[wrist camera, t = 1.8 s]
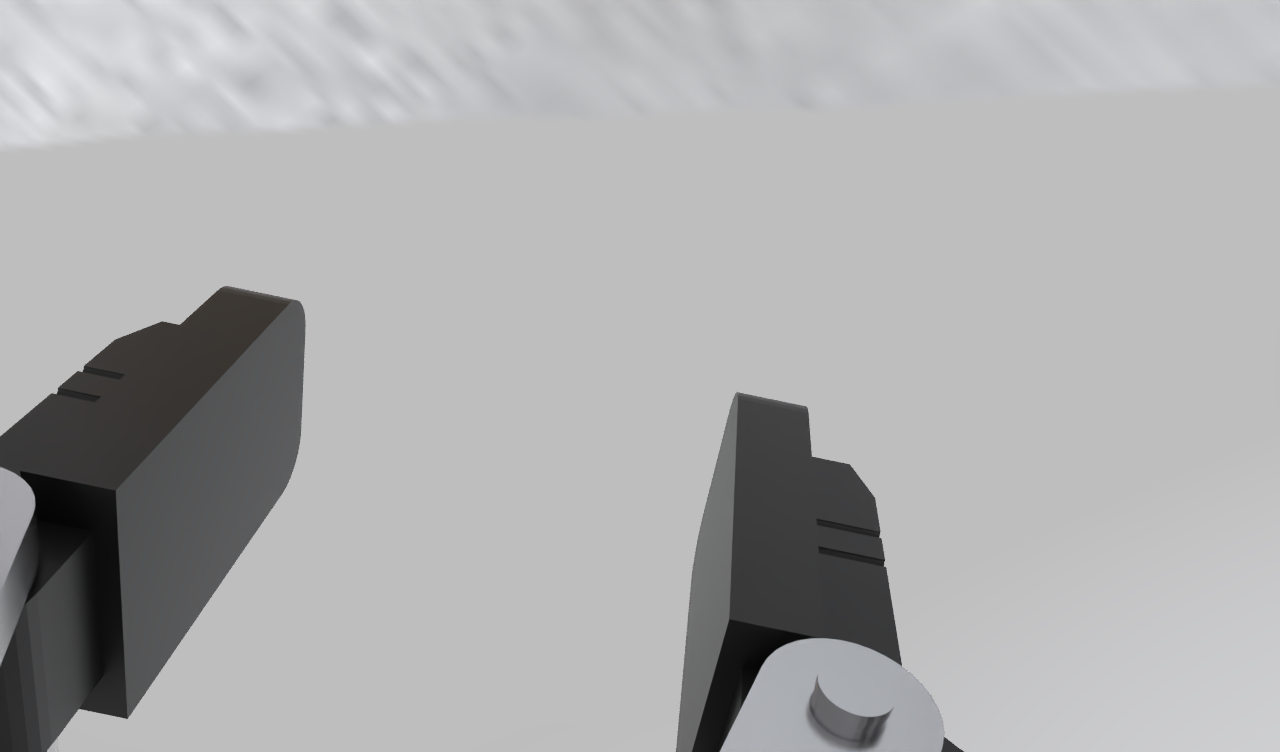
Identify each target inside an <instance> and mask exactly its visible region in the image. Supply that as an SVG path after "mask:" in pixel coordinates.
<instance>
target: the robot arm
mask: <svg viewBox="0 0 1280 752" xmlns="http://www.w3.org/2000/svg"><path fill="white" fill-rule="evenodd" d="M304 346H305V314H304V309H303V306H302V304H301V303H300V302H299V301H297V300H292V299H287V298H283V297H278V296H273V295H268V294H263V293H258V292H254V291H249V290H244V289H239V288H234V287H229V286H225V287H222V288H220V289H219V290H218V291H217V292H216V293H215V294H214V295H212V296H211V297H210V298H209V299H208V300H207V301H206V302H205V303H204V304H203V305H201V306H200V307H199V308H198V309H197V310H196V311H195V312H194V313H193V314H192V315H190V316H189V317H188V318H187V319H186V320H185V321H184V322H183V323H182V324H180V325H177V324H172V323H167V322H160V323H157V324H155V325H152V326H149V327H147V328H144V329H142V330H140V331H136V332H134V333H132V334H129V335H126V336H124V337H121V338H118V339H116V340H114V341H113V342H112V343H111V344H110V345H108V346H107V347H106V348H105V349H104V350H102V351H101V352H100V353H99V354H98V355H96V356H95V357H94V358H93V359H92V360H91V361H89V362H88V363H87V364H86V365H85V366H84V370H83V372H79V371H78V372H76V373H75V374H74V375H73V376H72V377H70V378H69V379H68V380H67V381H66V382H64V383H63V384H62V385H61V386H60V387H59V388H58V392H57V394H50V395H49V396H48V397H47V398H46V399H44V400H43V401H42V402H41V403H40V404H38V405H37V406H36V407H35V408H34V409H33V410H31V411H30V412H29V413H28V414H26V415H25V416H24V417H23V418H22V419H21V420H19V421H18V422H17V423H16V424H15V425H13V426H12V427H11V428H10V429H9V430H7V431H6V432H5V433H4V434H3V435H2V436H0V752H58V740H57V737H58V736H59V735H60V733H61V732H62V731H63V729H64V728H65V727H66V725H67V724H68V722H69V721H70V720H71V718H72V717H73V716H74V714H75V713H76V712H77V710H78V709H83V710H87V711H92V712H97V713H102V714H107V715H112V716H117V717H122V718H126V719H128V717H129V716H130V715H131V713H132V712H133V710H134V709H135V707H136V706H137V704H138V703H139V701H140V700H141V699H142V697H143V696H144V694H145V693H146V691H147V690H148V688H149V687H150V685H151V684H152V682H153V681H154V680H155V678H156V677H157V675H158V674H159V672H160V671H161V669H162V668H163V666H164V665H165V663H166V662H167V661H168V659H169V658H170V656H171V654H172V653H173V652H174V650H175V649H176V647H177V646H178V645H179V643H180V642H181V640H182V639H183V637H184V636H185V634H186V633H187V632H188V630H189V629H190V627H191V626H192V624H193V623H194V621H195V620H196V618H197V617H198V615H199V614H200V613H201V611H202V610H203V608H204V607H205V605H206V604H207V602H208V601H209V599H210V598H211V597H212V595H213V593H214V592H215V591H216V589H217V588H218V586H219V585H220V583H221V582H222V580H223V579H224V578H225V576H226V574H227V573H228V572H229V570H230V569H231V567H232V566H233V565H234V563H235V562H236V560H237V559H238V557H239V556H240V554H241V553H242V551H243V550H244V548H245V547H246V546H247V544H248V543H249V541H250V540H251V538H252V537H253V535H254V534H255V532H256V531H257V530H258V528H259V527H260V525H261V524H262V522H263V521H264V519H265V518H266V516H267V515H268V513H269V512H270V510H271V509H272V508H273V506H274V505H275V503H276V502H277V500H278V499H279V497H280V496H281V495H282V493H283V491H284V490H285V488H286V486H287V484H288V482H289V479H290V477H291V474H292V471H293V469H294V465H295V462H296V458H297V454H298V449H299V444H300V436H301V417H302V393H303V370H304V348H305V347H304ZM879 535H880V527H879V520H878V514H877V508H876V502H875V497H874V496H873V495H872V493H871V492H870V491H869V489H868V488H867V487H866V485H865V484H864V483H863V481H862V480H861V479H860V478H859V476H858V475H857V474H856V472H855V471H854V470H853V468H852V467H851V466H850V465H849V464H845V463H839V462H835V461H830V460H825V459H820V458H816V457H812V455H811V441H810V428H809V414H808V409H807V407H806V406H800V405H796V404H791V403H786V402H782V401H777V400H772V399H766V398H762V397H757V396H752V395H747V394H743V393H738V392H737V393H736V394H735V397H734V399H733V402H732V405H731V409H730V412H729V416H728V420H727V423H726V427H725V431H724V435H723V439H722V443H721V447H720V451H719V455H718V459H717V463H716V467H715V471H714V475H713V479H712V483H711V487H710V490H709V494H708V499H707V502H706V506H705V510H704V514H703V519H702V522H701V527H700V532H699V536H698V541H697V547H696V552H695V558H694V564H693V571H692V581H691V592H690V602H689V614H688V626H687V636H686V647H685V658H684V669H683V681H682V692H681V704H680V714H679V726H678V736H677V748H676V752H964V751H962V750H961V749H959V748H958V747H957V746H955V745H954V744H952V743H951V742H950V741H949V740H948V739H946V738H945V737H944V726H943V720H942V717H941V714H940V711H939V709H938V707H937V705H936V703H935V702H934V700H933V698H932V696H931V695H930V694H929V692H928V691H927V690H926V689H925V687H924V686H923V685H922V684H921V683H920V682H919V681H918V680H917V679H916V678H915V677H914V676H913V675H912V674H911V673H910V672H908V671H907V670H905V668H903V667H902V663H901V657H900V651H899V645H898V639H897V632H896V626H895V620H894V614H893V608H892V601H891V596H890V589H889V582H888V576H887V570H886V567H884V561H885V558H884V552H883V545H882V540H881V538H879Z"/></svg>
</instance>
